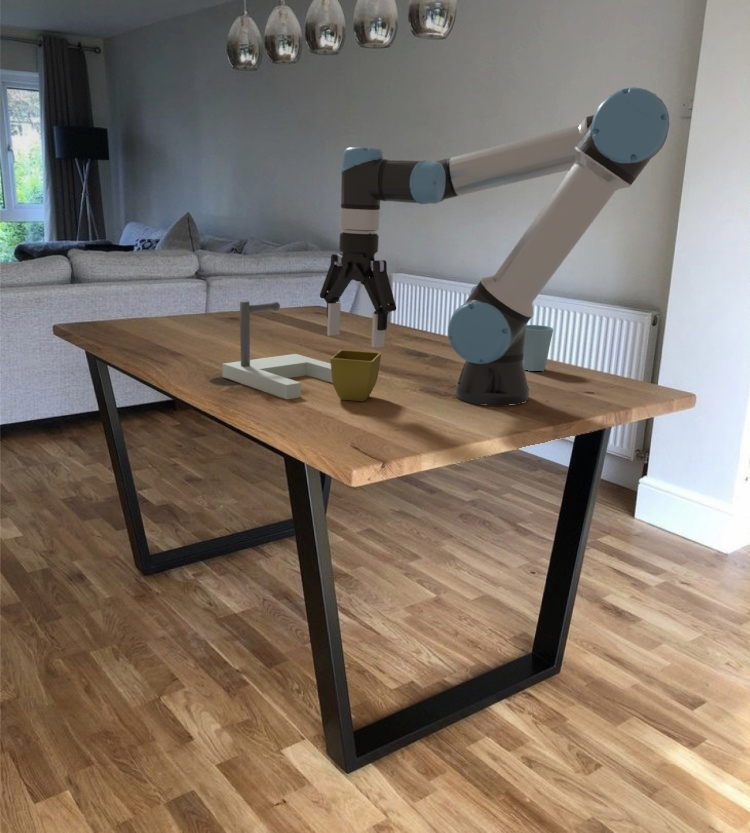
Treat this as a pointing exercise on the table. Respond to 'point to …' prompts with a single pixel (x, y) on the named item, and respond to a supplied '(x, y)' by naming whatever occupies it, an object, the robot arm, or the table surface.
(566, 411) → the table surface
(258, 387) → the l-shaped hook stand
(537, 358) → the cup
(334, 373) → the flower pot
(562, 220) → the robot arm
